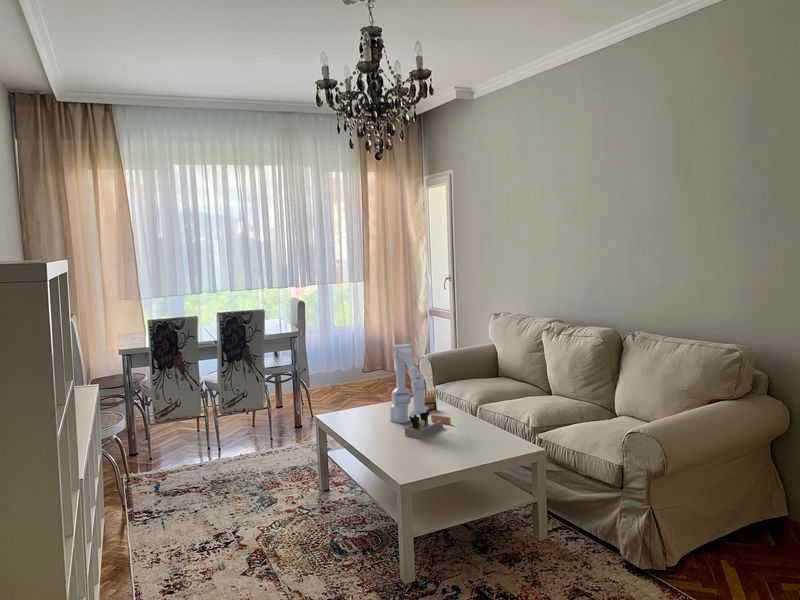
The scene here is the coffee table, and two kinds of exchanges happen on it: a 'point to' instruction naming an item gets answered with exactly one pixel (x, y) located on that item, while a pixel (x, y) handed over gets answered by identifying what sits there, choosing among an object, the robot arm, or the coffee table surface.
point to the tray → (424, 432)
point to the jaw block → (421, 424)
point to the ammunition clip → (430, 401)
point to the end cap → (441, 418)
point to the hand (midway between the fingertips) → (419, 427)
